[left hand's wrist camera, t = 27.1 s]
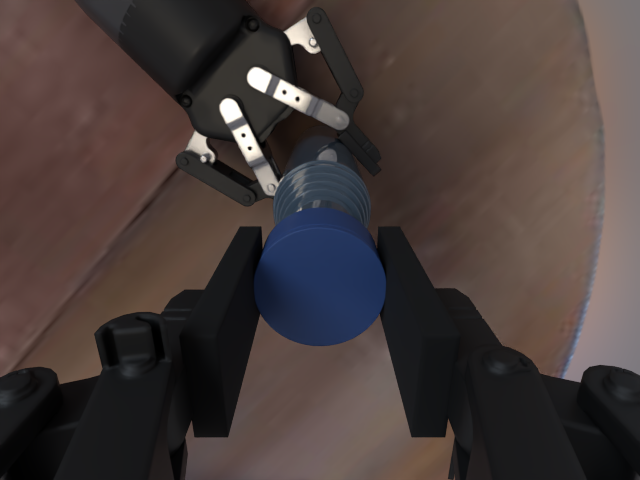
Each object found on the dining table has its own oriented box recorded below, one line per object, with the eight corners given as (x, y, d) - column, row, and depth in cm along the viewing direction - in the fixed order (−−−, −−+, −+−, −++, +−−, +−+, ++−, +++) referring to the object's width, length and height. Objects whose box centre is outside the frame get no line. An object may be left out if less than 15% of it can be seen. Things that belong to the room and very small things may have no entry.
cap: (252, 299, 15) (242, 332, 13) (274, 194, 13) (266, 213, 11) (360, 321, 15) (366, 357, 13) (392, 221, 14) (404, 245, 12)
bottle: (348, 122, 33) (388, 186, 13) (351, 180, 35) (390, 310, 15) (290, 127, 33) (245, 198, 13) (296, 184, 35) (264, 319, 15)
